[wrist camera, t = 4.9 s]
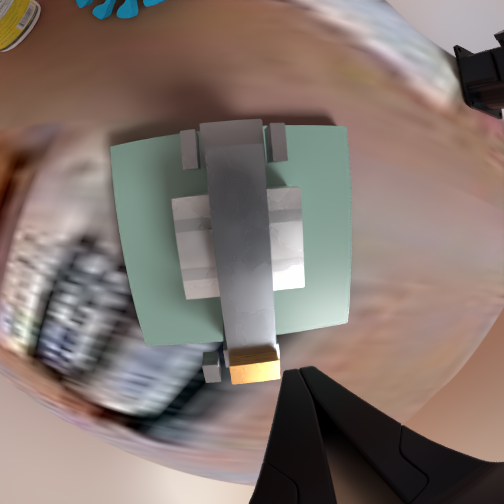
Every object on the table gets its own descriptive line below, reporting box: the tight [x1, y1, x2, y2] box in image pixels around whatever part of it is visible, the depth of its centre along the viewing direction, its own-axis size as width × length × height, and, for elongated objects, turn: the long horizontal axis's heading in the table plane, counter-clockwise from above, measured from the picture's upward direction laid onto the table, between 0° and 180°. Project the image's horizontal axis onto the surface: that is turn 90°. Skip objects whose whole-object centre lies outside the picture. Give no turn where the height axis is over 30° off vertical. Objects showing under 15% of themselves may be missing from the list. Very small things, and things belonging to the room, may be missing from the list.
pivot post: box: [180, 119, 288, 171], centre depth 13 cm, size 4×2×6 cm, turn 94°
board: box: [110, 125, 352, 346], centre depth 16 cm, size 14×13×1 cm
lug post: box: [202, 323, 279, 383], centre depth 16 cm, size 4×1×6 cm, turn 94°
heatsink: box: [171, 185, 304, 300], centre depth 14 cm, size 6×5×3 cm
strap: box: [204, 143, 280, 384], centre depth 12 cm, size 11×2×2 cm, turn 4°
